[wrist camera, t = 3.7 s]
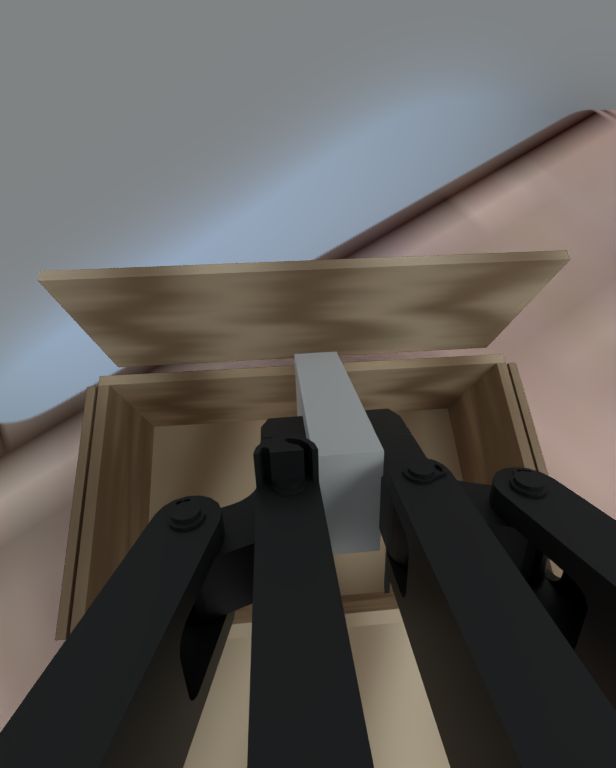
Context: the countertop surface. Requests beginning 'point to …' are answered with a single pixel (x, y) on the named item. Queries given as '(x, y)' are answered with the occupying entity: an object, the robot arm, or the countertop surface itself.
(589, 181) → the countertop surface
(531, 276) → the flap
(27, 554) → the countertop surface
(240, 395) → the carton
